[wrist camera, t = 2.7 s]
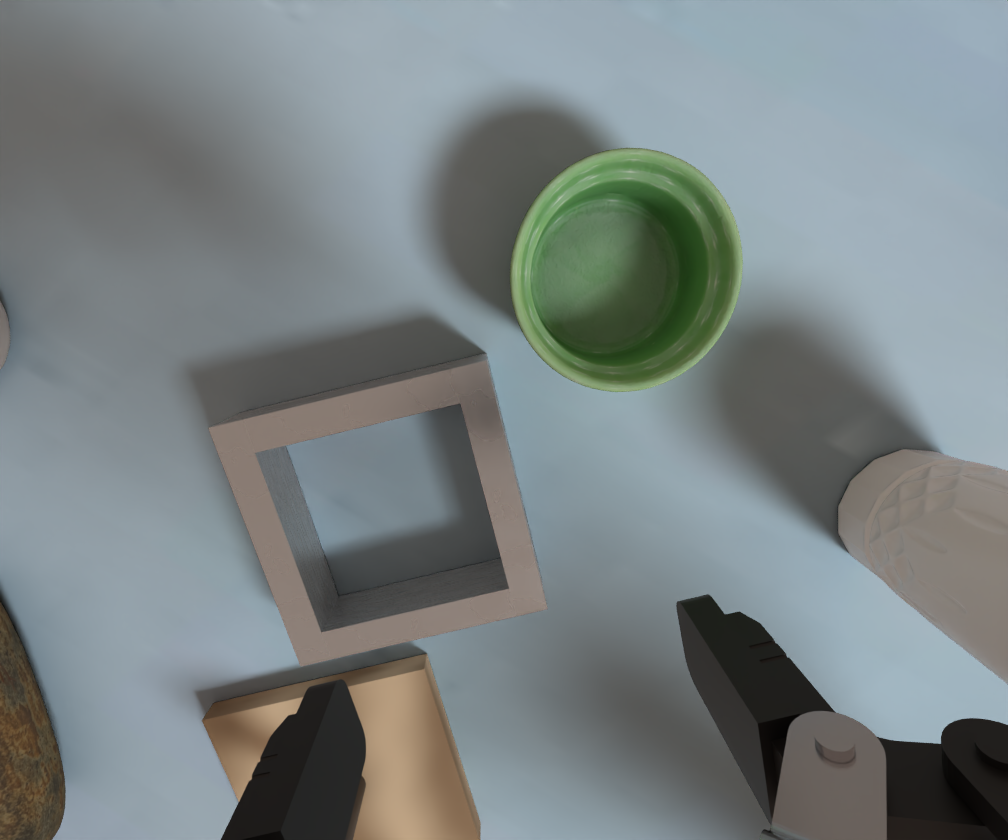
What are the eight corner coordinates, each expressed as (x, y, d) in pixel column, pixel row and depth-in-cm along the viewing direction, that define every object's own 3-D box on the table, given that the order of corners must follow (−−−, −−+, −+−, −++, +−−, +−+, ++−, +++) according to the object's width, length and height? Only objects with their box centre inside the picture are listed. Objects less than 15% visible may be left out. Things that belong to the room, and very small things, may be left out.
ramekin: (557, 408, 25) (572, 430, 21) (470, 234, 23) (466, 220, 19) (726, 322, 25) (777, 327, 20) (651, 136, 23) (690, 98, 18)
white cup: (841, 597, 28) (1029, 755, 18) (808, 469, 26) (997, 570, 17) (983, 546, 28) (1251, 681, 18) (959, 413, 26) (1243, 483, 16)
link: (486, 352, 24) (486, 360, 21) (540, 575, 27) (547, 609, 24) (240, 412, 25) (208, 427, 22) (320, 627, 27) (300, 666, 25)
